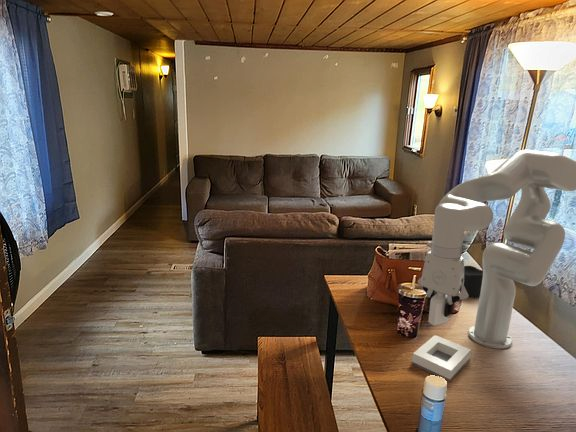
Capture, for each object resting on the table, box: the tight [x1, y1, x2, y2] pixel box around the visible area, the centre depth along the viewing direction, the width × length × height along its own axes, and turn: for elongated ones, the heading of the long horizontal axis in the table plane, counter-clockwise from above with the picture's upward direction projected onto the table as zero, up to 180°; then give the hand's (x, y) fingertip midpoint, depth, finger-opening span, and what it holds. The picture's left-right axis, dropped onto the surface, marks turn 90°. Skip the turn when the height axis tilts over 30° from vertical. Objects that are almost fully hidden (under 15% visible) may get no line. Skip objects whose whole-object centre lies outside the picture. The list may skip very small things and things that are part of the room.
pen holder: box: [464, 265, 483, 299], centre depth 164 cm, size 9×9×10 cm
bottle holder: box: [411, 334, 472, 383], centre depth 120 cm, size 14×11×4 cm
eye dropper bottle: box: [428, 291, 449, 327], centre depth 115 cm, size 4×6×12 cm
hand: (439, 311), depth 115 cm, fingers closed on eye dropper bottle, 4 cm apart
